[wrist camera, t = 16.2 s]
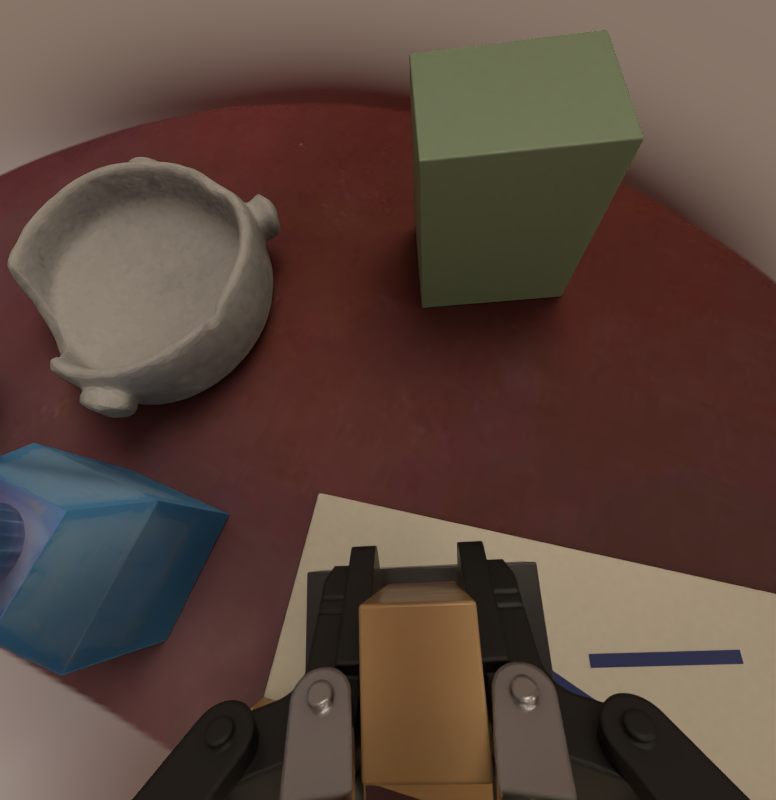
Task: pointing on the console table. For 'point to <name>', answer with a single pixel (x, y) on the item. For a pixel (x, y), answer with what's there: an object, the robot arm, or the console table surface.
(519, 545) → the board
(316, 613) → the eraser
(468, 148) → the block
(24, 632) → the perfume bottle
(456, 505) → the console table surface
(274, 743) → the robot arm
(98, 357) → the dish
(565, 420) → the console table surface
